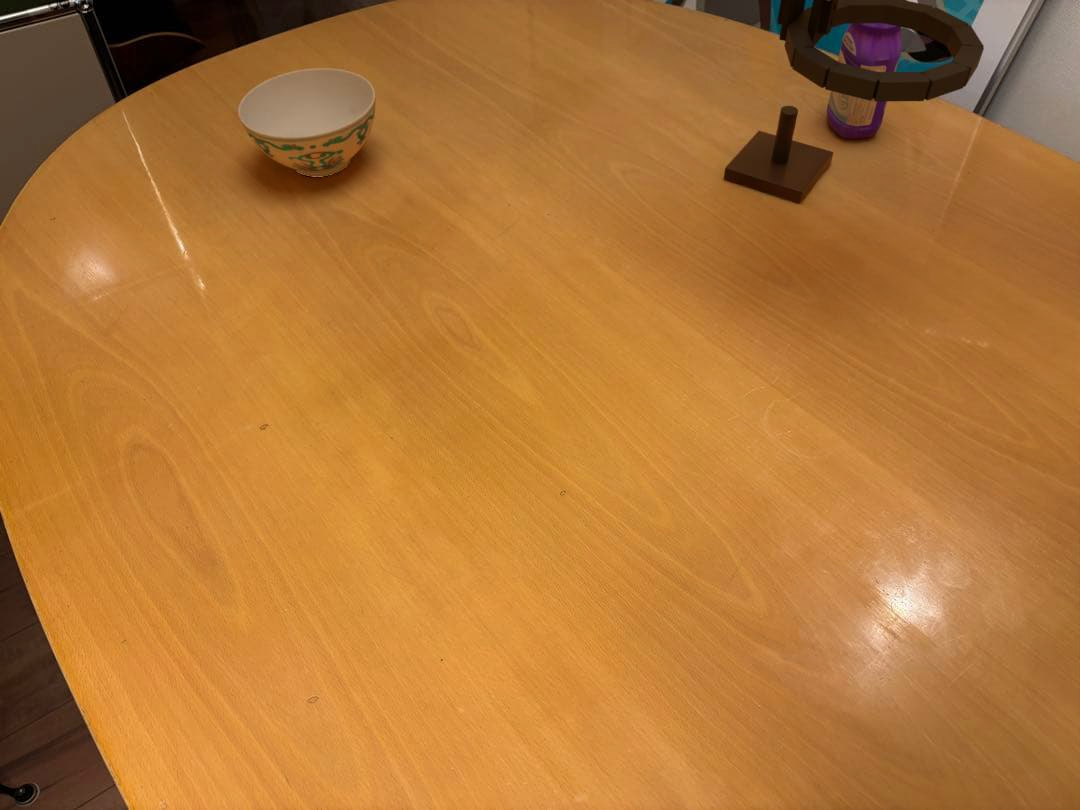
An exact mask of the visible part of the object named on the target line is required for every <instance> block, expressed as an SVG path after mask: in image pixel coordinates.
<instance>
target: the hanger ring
mask: <svg viewBox="0 0 1080 810" xmlns="http://www.w3.org/2000/svg"><path fill="white" fill-rule="evenodd" d="M811 9H812V6H809V7H807V8H804V11H803V12H802V13H801V14H800V15H799V16H798V17H797V18H796V19H795V20H794V21H793V22H792V23H791V24H790V25H789V26H788V29H787V34H786V40H785V41H784V49H785V52H786V55H787V59H788V63H789V66H790V68H792V70H793V71H795V72H797V73H798V75H799V74H800V75H801V76H803V77H804V78H805V79H807V80H809V81H810V82H811V83H813V84H815V85H816V86H818V87H819V88H821V89H824V90H826V91H830V92H831V91H833V92H837V93H841V94H845V95H849V96H853V97H857V98H861V99H865V100H869V101H871V100H872V99H873V98H874V101H875V102H880V101H887V102H924V101H931V100H933V99H936V98H938V97H942V96H945V95H948V94H951V93H953V92H956V91H959V90H962V89H964V88H965V87H966V86H967V85H968V83H969V81H970V80H971V78H972V77H973V75H974V73H975V72H976V70H977V69H978V67H979V64H980V61H981V58H982V55H983V53H984V50H985V46H984V44H983V42H982V41H981V39H980V37H979V36H978V34H977V33H976V31H975V29H974V28H973V26H972V25H971V24H970V23H969V22H967V21H964V20H962V19H961V18H958V17H956V16H954V15H952V14H951V13H948V12H947V11H944V10H943V9H941V8H940V7H939V8H938V7H937V6H935V7H934V6H933V5H930V4H924V3H919V2H915V1H910V0H838V4H837V9H836V13H835V18H834V23H833V26H832V29H833V28H835V27H840V26H843V25H851V24H864V23H884V24H889V25H893V26H898V27H901V29H902V28H904V29H907V30H912V31H916V32H920V33H922V34H924V35H925V36H927V37H929V38H931V39H933V40H934V41H936V42H938V43H940V44H942V45H944V46H945V47H946V48H947V50H948V51H949V53H950V55H951V57H952V60H951V61H949V62H946V63H944V64H940V65H937V66H934V67H930V68H928V69H924V70H922V71H895V72H877V71H872V70H868V69H864V68H860V67H856V66H851V65H847V64H843V63H839V62H838V60H836V59H834V58H833V57H831V56H830V55H828V54H827V53H826V52H823V51H822V50H821V49H818V48H817V47H815V46H813V43H812V40H811V38H810V35H809V32H808V24H809V19H810V14H811Z"/></svg>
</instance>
